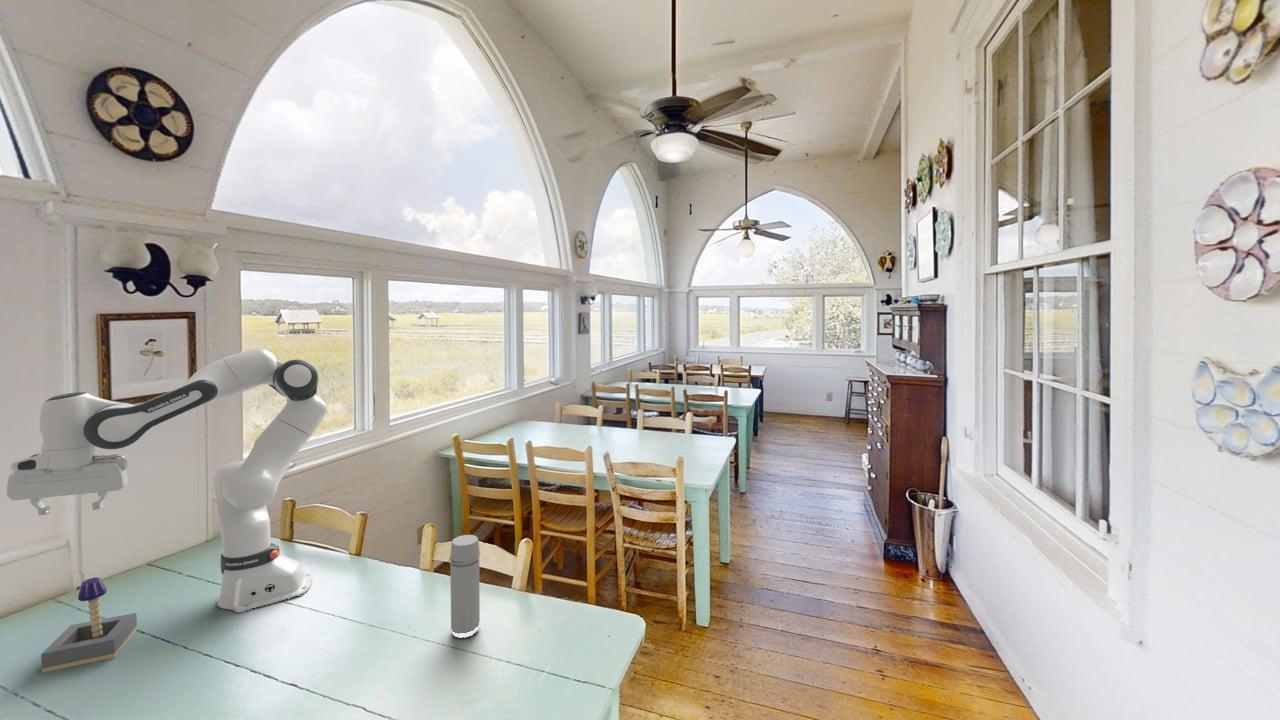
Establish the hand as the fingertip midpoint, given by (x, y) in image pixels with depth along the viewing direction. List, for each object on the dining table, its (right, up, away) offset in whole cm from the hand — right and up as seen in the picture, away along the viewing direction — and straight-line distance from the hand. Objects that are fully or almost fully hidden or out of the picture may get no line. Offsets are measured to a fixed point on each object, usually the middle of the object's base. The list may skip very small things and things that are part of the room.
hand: (71, 511), depth 124 cm
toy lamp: (+10, -32, -4) cm, 34 cm away
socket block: (+9, -33, -4) cm, 34 cm away
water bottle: (+97, -34, +7) cm, 102 cm away
